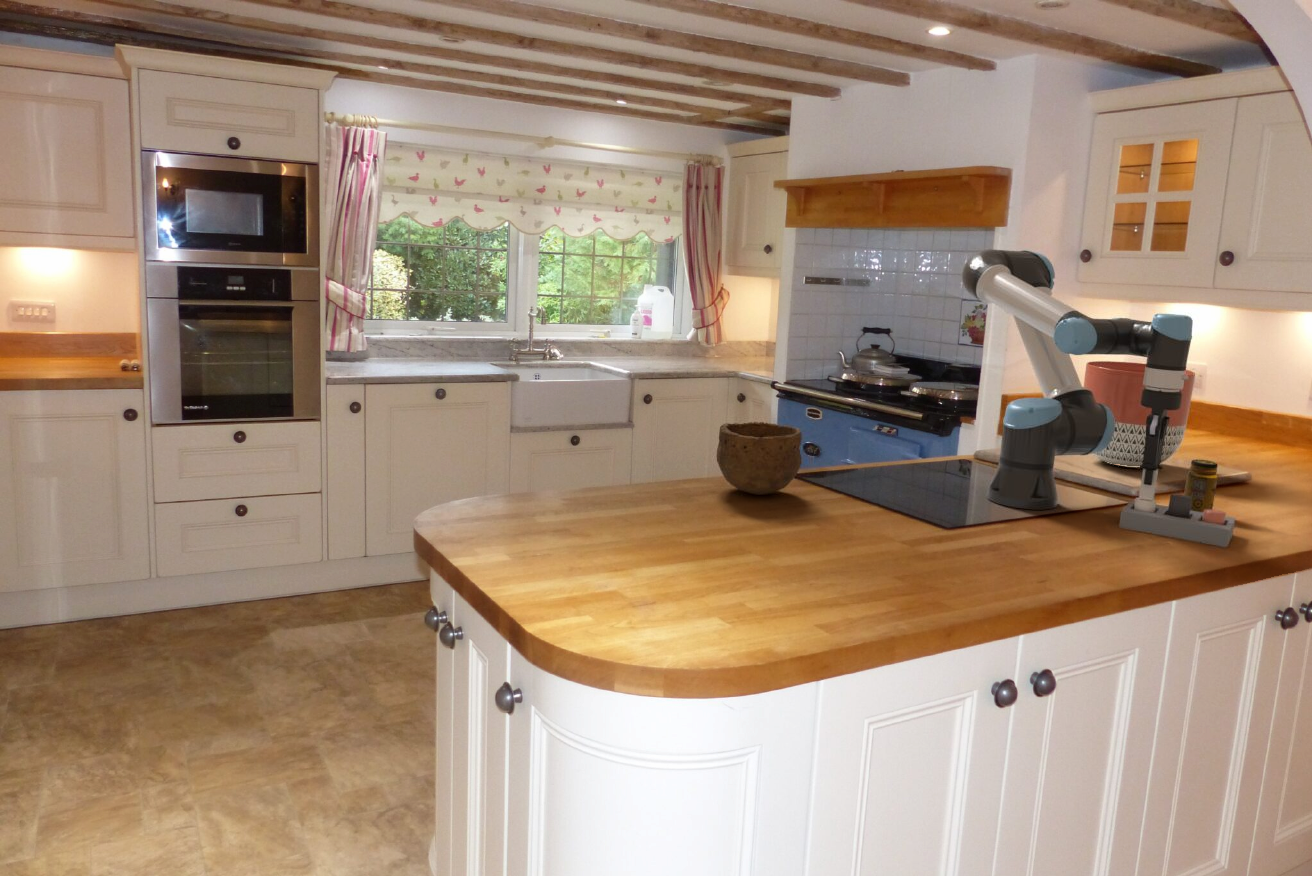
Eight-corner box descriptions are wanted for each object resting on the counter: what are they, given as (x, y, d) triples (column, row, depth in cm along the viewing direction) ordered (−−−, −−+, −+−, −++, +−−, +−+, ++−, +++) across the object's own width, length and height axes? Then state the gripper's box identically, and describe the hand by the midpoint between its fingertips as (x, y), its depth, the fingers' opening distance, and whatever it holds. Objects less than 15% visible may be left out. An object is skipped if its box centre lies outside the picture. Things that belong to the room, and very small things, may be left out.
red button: (1199, 530, 207) (1202, 511, 206) (1202, 526, 210) (1205, 507, 209) (1221, 534, 205) (1224, 515, 204) (1223, 530, 208) (1226, 511, 207)
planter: (1062, 464, 272) (1076, 365, 267) (1085, 450, 294) (1098, 358, 289) (1171, 482, 258) (1187, 378, 252) (1186, 466, 279) (1201, 369, 274)
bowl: (702, 496, 220) (706, 429, 217) (729, 478, 237) (733, 416, 234) (785, 508, 213) (791, 439, 210) (807, 489, 230) (812, 426, 227)
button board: (1119, 527, 212) (1121, 510, 211) (1129, 515, 222) (1131, 500, 221) (1226, 547, 201) (1229, 530, 200) (1232, 534, 211) (1235, 518, 210)
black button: (1166, 514, 210) (1169, 496, 209) (1169, 511, 213) (1172, 492, 213) (1187, 518, 208) (1190, 499, 207) (1190, 514, 211) (1193, 496, 210)
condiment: (1219, 515, 226) (1228, 463, 224) (1199, 519, 222) (1207, 466, 219) (1187, 507, 232) (1196, 456, 230) (1167, 511, 228) (1175, 459, 225)
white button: (1131, 517, 214) (1133, 499, 213) (1134, 514, 217) (1137, 496, 217) (1151, 521, 212) (1154, 503, 211) (1154, 517, 215) (1157, 499, 214)
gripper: (1178, 394, 202) (1160, 508, 206) (1187, 388, 212) (1170, 496, 217) (1137, 389, 206) (1121, 501, 211) (1148, 383, 216) (1132, 490, 221)
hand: (1146, 498), depth 214 cm, fingers closed
